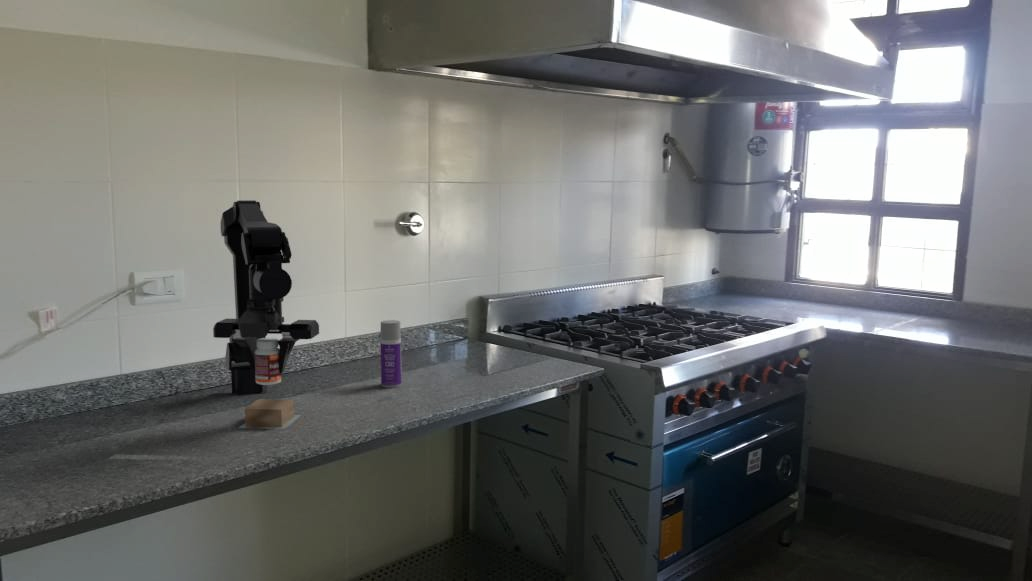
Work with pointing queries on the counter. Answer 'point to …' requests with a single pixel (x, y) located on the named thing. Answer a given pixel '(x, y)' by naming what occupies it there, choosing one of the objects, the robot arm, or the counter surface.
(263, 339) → the pill bottle
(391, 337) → the container
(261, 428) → the plate
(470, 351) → the counter surface
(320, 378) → the counter surface
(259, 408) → the walnut block
